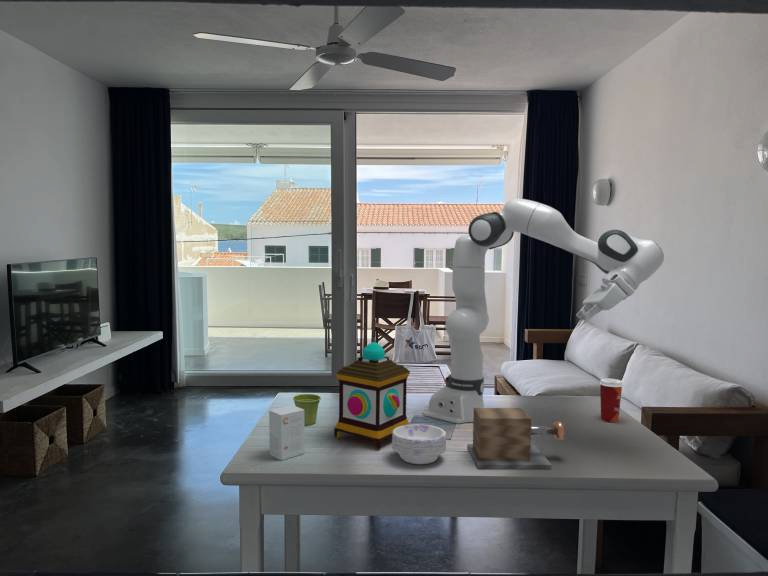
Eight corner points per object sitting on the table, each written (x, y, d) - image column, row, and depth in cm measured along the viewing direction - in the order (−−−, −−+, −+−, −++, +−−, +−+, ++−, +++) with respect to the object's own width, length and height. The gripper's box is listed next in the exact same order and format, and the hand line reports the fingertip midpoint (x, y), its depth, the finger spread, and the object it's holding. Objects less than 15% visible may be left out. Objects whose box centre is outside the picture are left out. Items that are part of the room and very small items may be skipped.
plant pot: (317, 417, 194) (317, 392, 193) (323, 425, 185) (323, 400, 184) (290, 419, 191) (290, 394, 190) (295, 428, 182) (295, 402, 181)
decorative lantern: (366, 422, 189) (367, 335, 186) (416, 434, 177) (418, 341, 175) (327, 439, 172) (328, 343, 170) (379, 453, 161) (380, 350, 159)
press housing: (533, 447, 167) (535, 405, 166) (551, 469, 151) (553, 422, 150) (467, 447, 166) (468, 404, 165) (478, 469, 150) (479, 421, 149)
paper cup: (623, 424, 191) (625, 383, 190) (599, 422, 192) (601, 382, 191) (618, 417, 198) (620, 378, 197) (596, 415, 200) (597, 377, 199)
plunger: (558, 435, 162) (558, 418, 161) (565, 442, 156) (566, 425, 155) (499, 435, 161) (499, 418, 161) (504, 442, 155) (505, 425, 155)
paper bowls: (427, 445, 168) (428, 419, 167) (456, 463, 154) (457, 435, 154) (382, 453, 161) (382, 426, 160) (408, 473, 147) (409, 443, 147)
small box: (292, 447, 164) (292, 404, 164) (305, 453, 160) (305, 409, 159) (268, 454, 159) (268, 409, 158) (280, 461, 154) (280, 414, 153)
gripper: (599, 279, 175) (566, 309, 176) (620, 275, 155) (583, 309, 156) (613, 294, 175) (580, 324, 175) (636, 292, 154) (599, 325, 155)
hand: (582, 317), depth 165 cm, fingers open, 8 cm apart
